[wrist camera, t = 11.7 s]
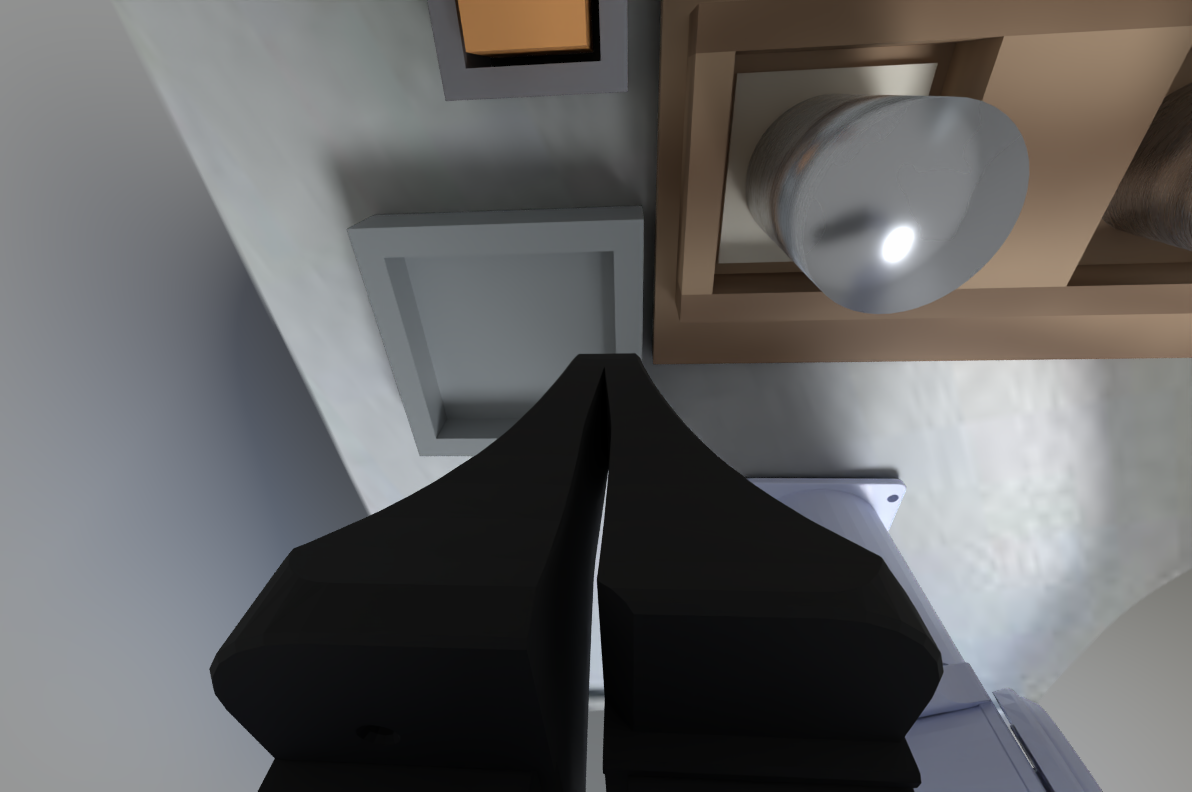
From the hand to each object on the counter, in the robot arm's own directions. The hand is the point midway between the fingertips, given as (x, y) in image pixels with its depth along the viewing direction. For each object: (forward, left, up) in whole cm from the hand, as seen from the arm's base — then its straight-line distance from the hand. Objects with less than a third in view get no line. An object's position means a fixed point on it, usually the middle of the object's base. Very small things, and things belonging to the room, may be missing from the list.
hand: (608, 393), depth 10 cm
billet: (+3, -7, -8) cm, 11 cm away
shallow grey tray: (-3, +4, -9) cm, 11 cm away
